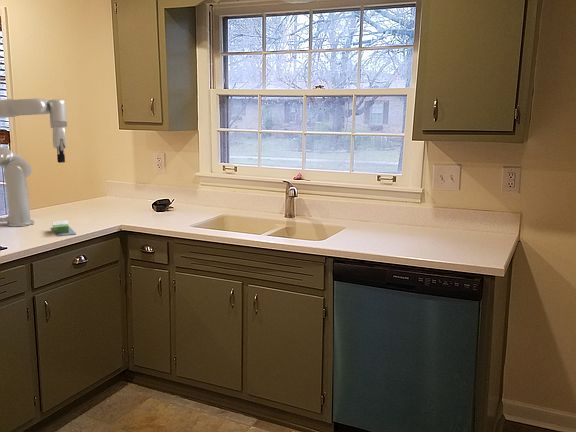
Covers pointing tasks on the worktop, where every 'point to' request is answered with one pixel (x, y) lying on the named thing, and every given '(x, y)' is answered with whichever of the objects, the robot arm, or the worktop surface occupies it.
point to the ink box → (60, 227)
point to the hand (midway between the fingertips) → (61, 162)
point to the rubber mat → (65, 233)
